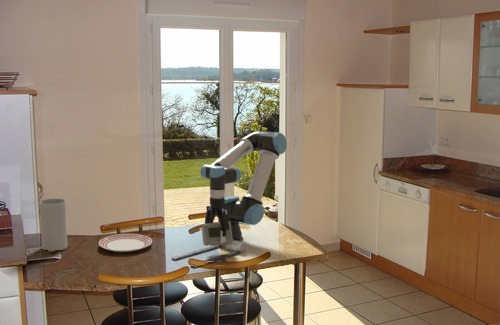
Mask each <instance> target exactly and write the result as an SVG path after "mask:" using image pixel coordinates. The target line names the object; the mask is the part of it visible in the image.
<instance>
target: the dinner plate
mask: <svg viewBox="0 0 500 325" xmlns="http://www.w3.org/2000/svg"><path fill="white" fill-rule="evenodd" d="M152 244H153V240H152V238H151V237H149V236H147V235H143V234H137V233H119V234H118V233H117V234H112V235H110V236H106V237H104V238H101V239H100V240H99V241H98V245H99V247H101V248H103V249H104V250H107V251H112V252H114V253H131V252H136V251H139V250H143V249H145V248H147V247H149V246H151V245H152Z"/></svg>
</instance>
